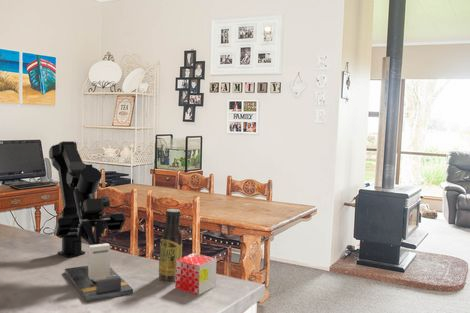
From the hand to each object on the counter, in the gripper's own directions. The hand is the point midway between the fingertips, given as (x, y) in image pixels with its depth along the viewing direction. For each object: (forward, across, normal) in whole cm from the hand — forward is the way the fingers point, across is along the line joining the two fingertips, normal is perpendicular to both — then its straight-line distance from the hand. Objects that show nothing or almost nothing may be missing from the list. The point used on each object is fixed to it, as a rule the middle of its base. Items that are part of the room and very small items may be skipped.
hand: (96, 249), depth 130 cm
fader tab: (+7, 0, +3) cm, 8 cm away
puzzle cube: (+18, +23, -4) cm, 29 cm away
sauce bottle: (+11, +19, +2) cm, 22 cm away
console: (+7, 0, +6) cm, 9 cm away
